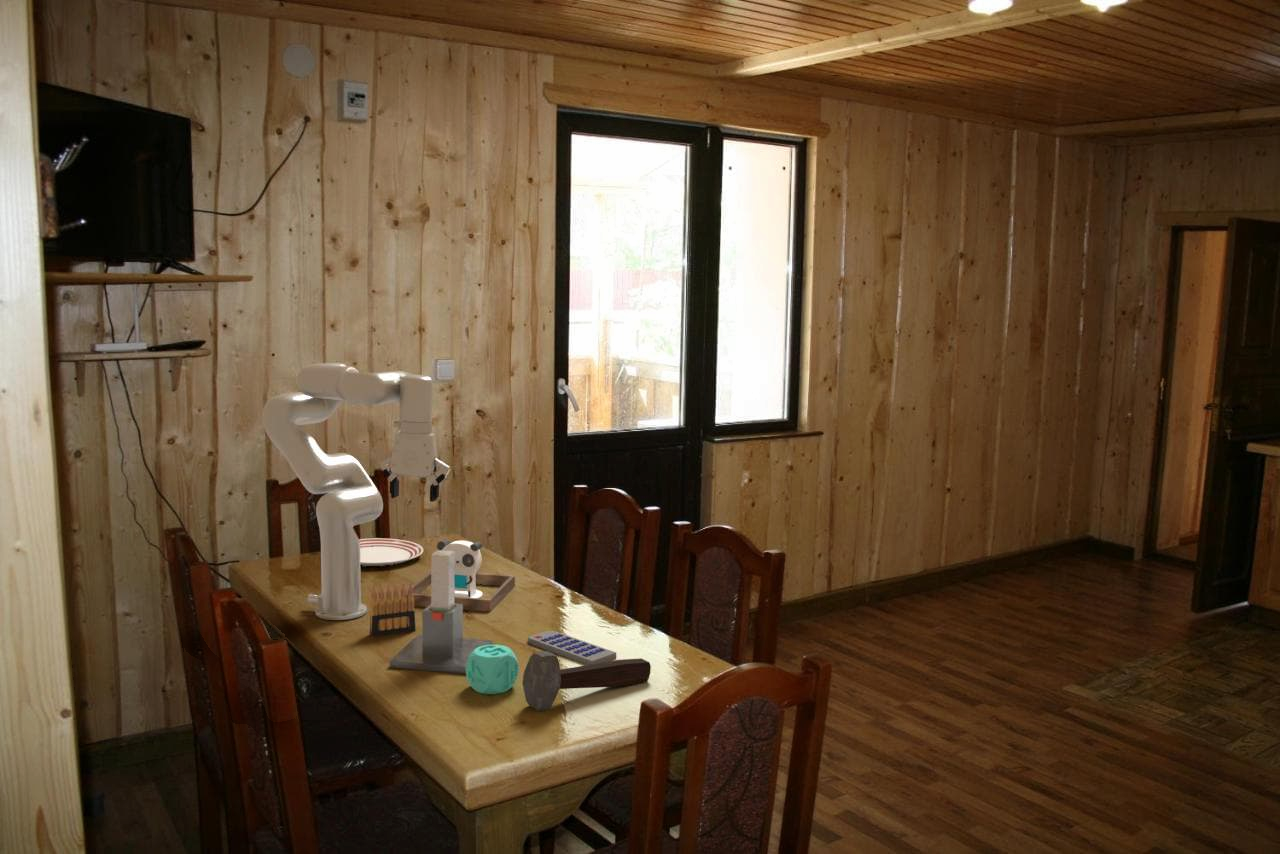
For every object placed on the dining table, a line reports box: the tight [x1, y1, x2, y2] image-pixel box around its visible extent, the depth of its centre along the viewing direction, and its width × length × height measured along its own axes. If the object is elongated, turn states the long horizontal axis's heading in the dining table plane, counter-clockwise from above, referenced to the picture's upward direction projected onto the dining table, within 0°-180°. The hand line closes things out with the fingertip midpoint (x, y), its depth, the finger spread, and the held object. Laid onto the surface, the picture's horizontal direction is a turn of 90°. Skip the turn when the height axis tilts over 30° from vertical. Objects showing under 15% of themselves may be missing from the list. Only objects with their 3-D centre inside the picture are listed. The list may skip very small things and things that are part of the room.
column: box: [430, 549, 455, 612], centre depth 236 cm, size 4×4×16 cm
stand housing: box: [389, 603, 494, 675], centre depth 237 cm, size 18×18×12 cm
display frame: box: [406, 571, 516, 612], centre depth 284 cm, size 24×24×3 cm
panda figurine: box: [436, 538, 483, 599], centre depth 284 cm, size 12×11×15 cm
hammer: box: [522, 650, 652, 712], centre depth 218 cm, size 5×11×30 cm
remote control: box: [527, 630, 617, 665], centre depth 245 cm, size 8×23×2 cm, turn 48°
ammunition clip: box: [369, 582, 416, 637], centre depth 252 cm, size 11×2×12 cm, turn 118°
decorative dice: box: [465, 644, 520, 695], centre depth 220 cm, size 8×8×8 cm
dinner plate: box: [358, 537, 424, 567], centre depth 319 cm, size 28×27×3 cm
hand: (414, 498), depth 250 cm, fingers open, 9 cm apart
